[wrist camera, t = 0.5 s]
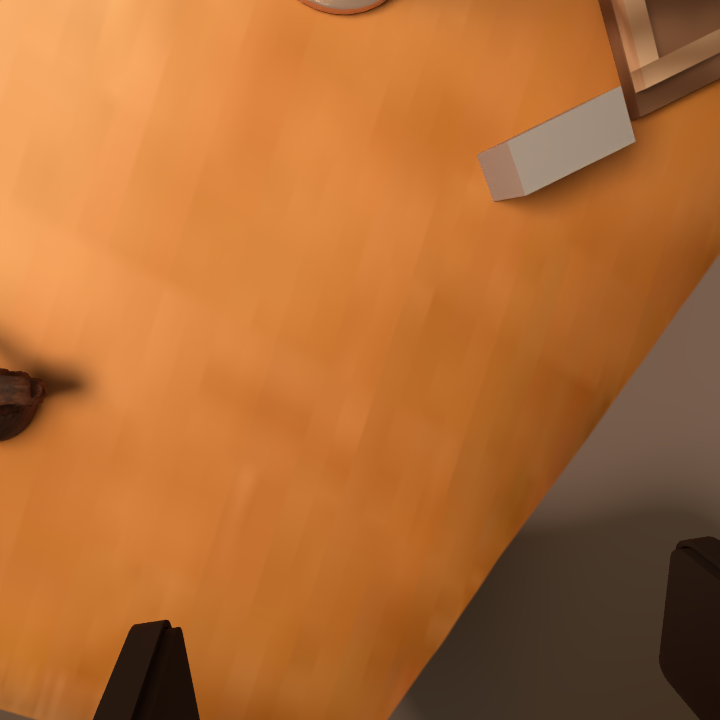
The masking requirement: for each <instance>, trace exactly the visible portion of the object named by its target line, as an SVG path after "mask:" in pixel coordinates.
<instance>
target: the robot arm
mask: <svg viewBox="0 0 720 720" xmlns="http://www.w3.org/2000/svg"><path fill="white" fill-rule="evenodd" d="M299 1H300V2H302V3H304V4H306V5H308V6H310V7H312V8H314V9H317V10H320V11H324V12H328V13H332V14H354V13H359V12H365V11H367V10H369V9H372V8H374V7H376V6H379V5H380V4H382V3H383V2H385V1H386V0H299ZM659 663H660V667H661V670H662V672H663V674H664V676H665V678H666V679H667V681H668V682H669V683H670V684H671V686H672V687H673V688H674V689H675V690H676V692H677V693H678V694H679V695H680V696H681V698H682V699H683V700H684V701H685V702H686V703H687V705H688V706H689V707H690V708H691V710H692V711H693V712H694V713H695V714H696V716H697V717H698V718H699V719H700V720H720V540H718V539H716V538H714V537H709V536H708V537H701V538H695V539H688V540H683V541H680V542H679V543H678V544H677V546H676V550H674V551H673V552H672V554H671V557H670V567H669V575H668V585H667V593H666V601H665V611H664V620H663V628H662V637H661V646H660V655H659ZM93 720H200V718H199V713H198V708H197V703H196V698H195V693H194V688H193V683H192V678H191V673H190V668H189V663H188V658H187V653H186V648H185V643H184V638H183V633H182V629H181V628H180V627H176V628H172V627H171V624H170V622H169V620H161V621H155V622H148V623H142V624H135V625H133V626H132V627H131V629H130V631H129V633H128V636H127V638H126V640H125V643H124V645H123V648H122V650H121V653H120V655H119V657H118V660H117V662H116V665H115V667H114V669H113V672H112V674H111V677H110V679H109V682H108V684H107V686H106V689H105V691H104V694H103V696H102V699H101V701H100V703H99V706H98V708H97V711H96V713H95V716H94V718H93Z"/></svg>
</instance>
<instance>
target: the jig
mask: <svg viewBox="0 0 720 720" xmlns="http://www.w3.org/2000/svg"><path fill="white" fill-rule="evenodd" d="M599 4H600V7H601V11H602V15H603V19H604V22H605V26H606V30H607V34H608V37H609V41H610V45H611V48H612V52H613V56H614V60H615V63H616V67H617V71H618V74H619V78H620V82H621V86H622V89H623V93H624V97H625V100H626V104H627V108H628V112H629V115H630V119H631V120H634V119H637V118H640V117H642V116H644V115H646V114H648V113H650V112H652V111H654V110H656V109H658V108H660V107H662V106H664V105H666V104H668V103H670V102H673V101H675V100H677V99H679V98H681V97H683V96H685V95H687V94H689V93H691V92H693V91H695V90H697V89H699V88H701V87H703V86H705V85H707V84H709V83H711V82H713V81H715V80H717V79H719V78H720V0H599Z"/></svg>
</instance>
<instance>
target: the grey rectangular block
mask: <svg viewBox="0 0 720 720" xmlns="http://www.w3.org/2000/svg"><path fill="white" fill-rule="evenodd" d="M634 142H636V141H635V137H634V133H633V130H632V126H631V122H630V119H629V115H628V111H627V107H626V104H625V100H624V96H623V93H622V89H621V86H619V87H617V88H615V89H613V90H610V91H608V92H606V93H604V94H602V95H600V96H597V97H595V98H593V99H591V100H589V101H587V102H584V103H582V104H580V105H578V106H576V107H574V108H572V109H569V110H567V111H565V112H563V113H561V114H559V115H557V116H555V117H553V118H551V119H549V120H547V121H545V122H543V123H541V124H539V125H537V126H535V127H533V128H531V129H529V130H527V131H525V132H523V133H521V134H519V135H516V136H514V137H512V138H510V139H508V140H506V141H504V142H502V143H500V144H498V145H496V146H494V147H492V148H490V149H488V150H486V151H484V152H482V153H480V154H478V155H477V157H478V160H479V162H480V165H481V168H482V171H483V173H484V176H485V179H486V182H487V184H488V187H489V190H490V193H491V195H492V198H493V201H498V200H504V199H510V198H515V197H521V196H526V195H528V194H530V193H532V192H534V191H536V190H538V189H540V188H542V187H544V186H546V185H549V184H551V183H553V182H555V181H557V180H559V179H561V178H563V177H565V176H567V175H569V174H571V173H573V172H575V171H577V170H579V169H581V168H583V167H585V166H587V165H589V164H591V163H593V162H595V161H597V160H599V159H601V158H603V157H605V156H607V155H609V154H611V153H614V152H616V151H618V150H620V149H622V148H624V147H626V146H628V145H630V144H632V143H634Z"/></svg>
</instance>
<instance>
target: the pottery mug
mask: <svg viewBox="0 0 720 720" xmlns="http://www.w3.org/2000/svg"><path fill="white" fill-rule="evenodd" d="M46 395H47V392H46V385H45V384H44V383H43V381H42V380H40V379H36V378H31V377H30V376H29V375H28V374H27V373H26V372H22V371H16V372H15V371H9V370H7V369H1V368H0V441H4V440H7V439H10V438H12V437H13V436H15V435H17V434H18V433H19V432H20V431H22V430H23V429H24V428H25V427H26V426H27V424H28V423H29V422H30V420H31V418H32V416H33V414H34V412H35V410H36V407H37V405H36V404H40V403H42V402H43V400H44V398H45V397H46Z"/></svg>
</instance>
